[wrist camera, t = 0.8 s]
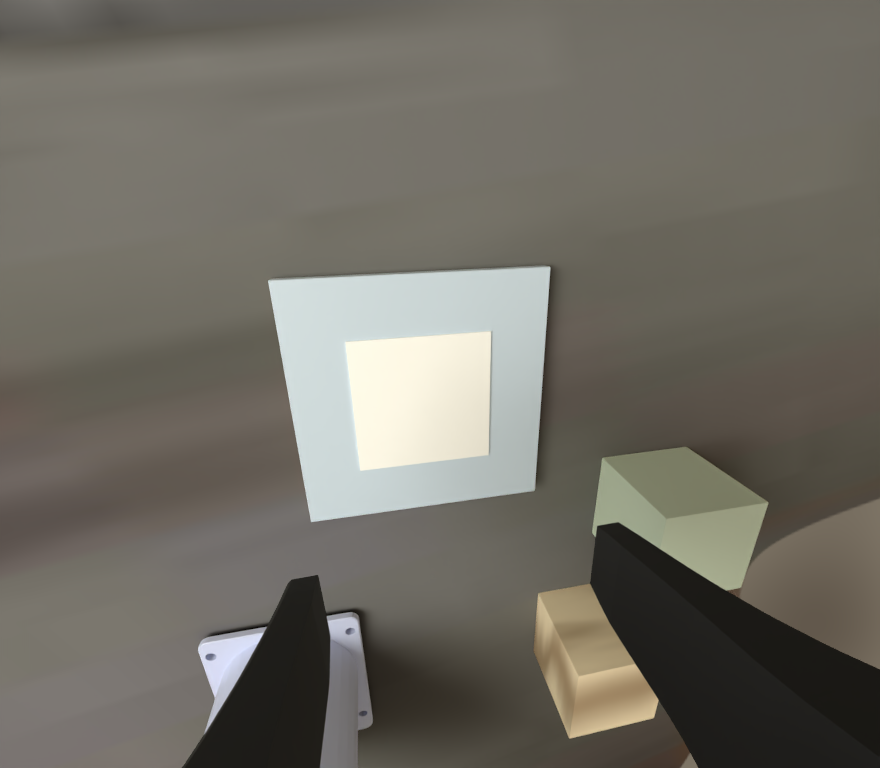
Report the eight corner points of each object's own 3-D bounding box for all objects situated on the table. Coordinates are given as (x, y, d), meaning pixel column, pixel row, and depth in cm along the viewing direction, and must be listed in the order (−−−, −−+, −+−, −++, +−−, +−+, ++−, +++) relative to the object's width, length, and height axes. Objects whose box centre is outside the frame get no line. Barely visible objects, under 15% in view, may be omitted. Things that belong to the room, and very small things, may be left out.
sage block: (669, 519, 24) (741, 587, 20) (591, 531, 24) (647, 606, 19) (685, 445, 22) (768, 502, 18) (601, 456, 22) (666, 518, 17)
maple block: (604, 634, 27) (653, 718, 23) (533, 649, 26) (569, 738, 22) (614, 578, 25) (670, 656, 21) (537, 592, 25) (578, 676, 20)
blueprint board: (530, 483, 21) (535, 491, 21) (312, 513, 20) (310, 523, 19) (544, 265, 17) (551, 267, 17) (271, 278, 16) (267, 280, 15)
